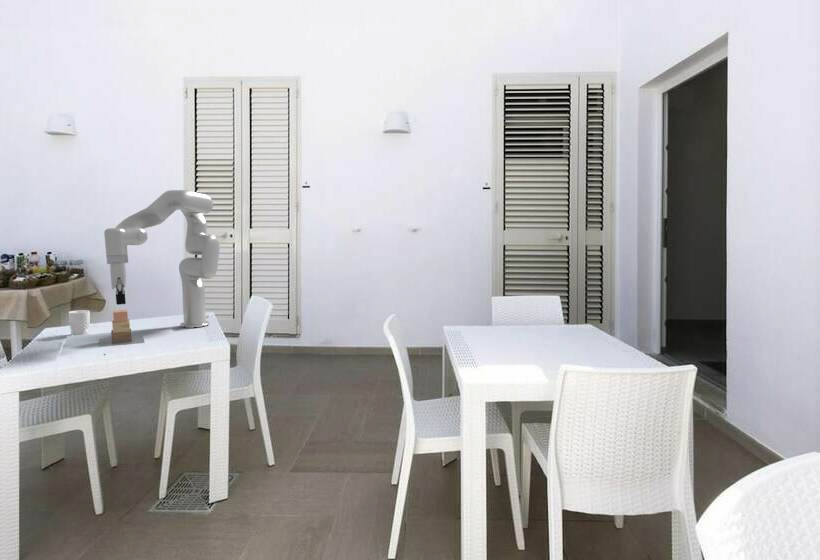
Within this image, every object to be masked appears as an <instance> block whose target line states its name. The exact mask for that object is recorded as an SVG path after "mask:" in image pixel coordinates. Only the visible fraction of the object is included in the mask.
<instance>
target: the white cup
mask: <svg viewBox="0 0 820 560" xmlns="http://www.w3.org/2000/svg"><path fill="white" fill-rule="evenodd" d="M90 312H91V311H90V310H89V309H80V310H79V309H77V310H71V311H68V321H69V327H70V333H71V334H70V335H71V336H72V335H73V336H81V335H82V336H84V335H85V336H86V335H90V331H91V330H90V328H91V313H90Z"/></svg>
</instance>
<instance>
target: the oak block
mask: <svg viewBox="0 0 820 560" xmlns="http://www.w3.org/2000/svg"><path fill="white" fill-rule="evenodd" d="M111 321H112V322H111V323H112V330H113V333H119V332H130V329H131V326H130V325H131V324H130V319H129V318H128V322H116V323H114V320H113V319H112V320H111Z"/></svg>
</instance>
